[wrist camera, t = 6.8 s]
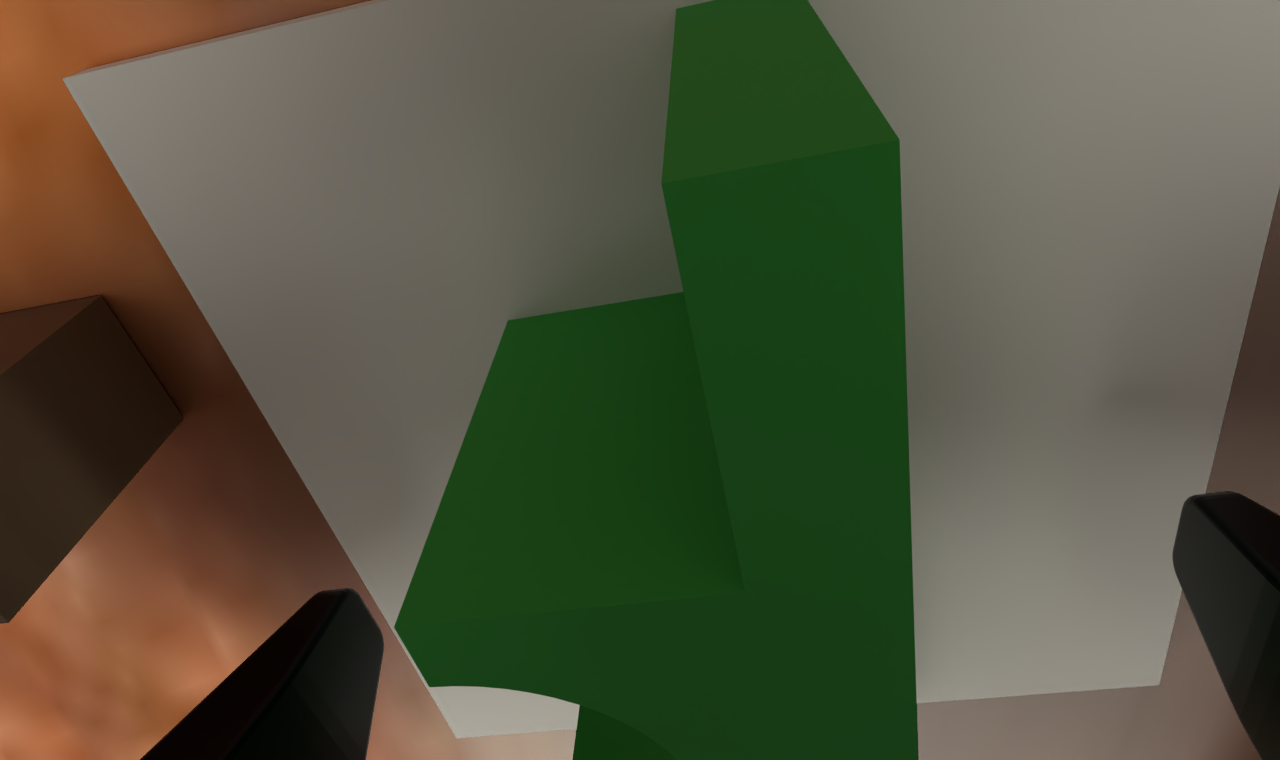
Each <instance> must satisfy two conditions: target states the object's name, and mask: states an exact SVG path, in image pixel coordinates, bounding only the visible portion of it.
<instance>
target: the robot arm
mask: <svg viewBox="0 0 1280 760" xmlns="http://www.w3.org/2000/svg"><path fill="white" fill-rule="evenodd" d="M1172 560H1173V566H1174V570H1175V573H1176V576H1177V579H1178V581H1179V583H1180V586H1181V588H1182V590H1183V592H1184V595H1185V597H1186V599H1187V602H1188V604H1189V606H1190V609H1191V611H1192V613H1193V615H1194V618H1195V620H1196V622H1197V625H1198V627H1199V629H1200V632H1201V634H1202V636H1203V638H1204V641H1205V643H1206V645H1207V648H1208V650H1209V652H1210V655H1211V657H1212V659H1213V662H1214V664H1215V666H1216V668H1217V671H1218V673H1219V675H1220V678H1221V680H1222V682H1223V685H1224V687H1225V689H1226V691H1227V694H1228V696H1229V698H1230V700H1231V702H1232V704H1233V707H1234V709H1235V711H1236V713H1237V715H1238V717H1239V719H1240V721H1241V723H1242V725H1243V727H1244V729H1245V730H1246V732H1247V734H1248V736H1249V738H1250V740H1251V742H1252V743H1253V745H1254V747H1255V749H1256V750H1257V752H1258V754H1259V756H1260V757H1261V759H1262V760H1280V515H1278V514H1276V513H1274V512H1272V511H1271V510H1269V509H1267V508H1265V507H1263V506H1262V505H1260V504H1258V503H1256V502H1254V501H1253V500H1251V499H1249V498H1247V497H1245V496H1243V495H1241V494H1239V493H1236V492H1230V491H1226V492H1216V493H1207V494H1198V495H1193V496H1190V497H1188V498H1187V499H1186V501H1185V502H1184V504H1183V507H1182V511H1181V515H1180V520H1179V524H1178V528H1177V533H1176V537H1175V542H1174V546H1173V552H1172ZM383 650H384V642H383V636H382V633H381V630H380V628H379V626H378V625H377V623H376V621H375V620H374V618H373V617H372V615H371V613H370V612H369V610H368V608H367V607H366V605H365V603H364V602H363V600H362V598H361V597H360V595H359V594H358V593H357V592H356V591H354V590H353V589H350V588H344V589H335V590H326V591H321V592H319V593H317V594H315V595H314V596H313V597H312V598H311V599H310V600H308V601H307V602H306V603H305V604H304V605H303V606H302V607H301V608H300V609H299V610H298V611H297V612H296V613H295V614H294V615H293V616H292V617H290V618H289V619H288V620H287V621H286V622H285V623H284V624H283V625H282V626H281V627H280V628H279V629H278V630H277V631H276V632H275V633H274V634H272V635H271V636H270V637H269V638H268V639H267V640H266V641H265V642H264V643H263V644H262V645H261V646H260V647H259V648H258V649H257V650H256V651H254V652H253V653H252V654H251V655H250V656H249V657H248V658H247V659H246V660H245V661H244V662H243V663H242V664H241V665H240V666H239V667H238V668H236V669H235V670H234V671H233V672H232V673H231V674H230V675H229V676H228V677H227V678H226V679H225V680H224V681H223V682H222V683H221V684H219V685H218V686H217V687H216V688H215V689H214V690H213V691H212V692H211V693H210V694H209V695H208V696H207V697H206V698H205V699H204V700H203V701H201V702H200V703H199V704H198V705H197V706H196V707H195V708H194V709H193V710H192V711H191V712H190V713H189V714H188V715H187V716H186V717H185V718H183V719H182V720H181V721H180V722H179V723H178V724H177V725H176V726H175V727H174V728H173V729H172V730H171V731H170V732H169V733H168V734H167V735H165V736H164V737H163V738H162V739H161V740H160V741H159V742H158V743H157V744H156V745H155V746H154V747H153V748H152V749H151V750H150V751H149V752H147V753H146V754H145V755H144V756H143V757H142V758H141V759H140V760H366V755H367V749H368V743H369V737H370V731H371V725H372V718H373V712H374V706H375V700H376V694H377V688H378V682H379V676H380V670H381V664H382V658H383Z"/></svg>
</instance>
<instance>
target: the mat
mask: <svg viewBox="0 0 1280 760" xmlns="http://www.w3.org/2000/svg"><path fill="white" fill-rule="evenodd" d="M709 1H713V0H371V1H367V2H362V3H358V4H354V5H350V6H346V7H342V8H337V9H333V10H329V11H325V12H321V13H317V14H313V15H308V16H304V17H300V18H296V19H292V20H288V21H284V22H279V23H275V24H271V25H267V26H263V27H259V28H255V29H250V30H246V31H242V32H238V33H234V34H230V35H226V36H221V37H217V38H213V39H209V40H205V41H201V42H196V43H192V44H188V45H184V46H180V47H176V48H172V49H167V50H163V51H159V52H155V53H151V54H147V55H143V56H138V57H134V58H130V59H126V60H122V61H118V62H114V63H109V64H105V65H101V66H97V67H93V68H89V69H85V70H83V71H80V72H78V73H75V74H73V75H70V76H68V77H65V78H63V79H62V80H63V81H64V83H65V85H66V86H67V88H68V90H69V91H70V93H71V95H72V96H73V98H74V100H75V101H76V103H77V105H78V107H79V108H80V110H81V112H82V113H83V115H84V117H85V118H86V120H87V122H88V123H89V125H90V127H91V128H92V130H93V132H94V133H95V135H96V137H97V138H98V140H99V142H100V143H101V145H102V147H103V148H104V150H105V152H106V153H107V155H108V157H109V158H110V160H111V162H112V163H113V165H114V167H115V168H116V170H117V172H118V173H119V175H120V177H121V178H122V180H123V182H124V183H125V185H126V187H127V188H128V190H129V192H130V193H131V195H132V197H133V198H134V200H135V202H136V203H137V205H138V207H139V208H140V210H141V212H142V213H143V215H144V217H145V218H146V220H147V222H148V223H149V225H150V227H151V228H152V230H153V232H154V233H155V235H156V237H157V238H158V240H159V242H160V243H161V245H162V247H163V248H164V250H165V252H166V253H167V255H168V257H169V258H170V260H171V262H172V264H173V265H174V267H175V269H176V270H177V272H178V274H179V275H180V277H181V279H182V280H183V282H184V284H185V285H186V287H187V289H188V290H189V292H190V294H191V295H192V297H193V299H194V300H195V302H196V304H197V305H198V307H199V309H200V310H201V312H202V314H203V315H204V317H205V319H206V320H207V322H208V324H209V325H210V327H211V329H212V330H213V332H214V334H215V335H216V337H217V339H218V340H219V342H220V344H221V345H222V347H223V349H224V350H225V352H226V354H227V355H228V357H229V359H230V360H231V362H232V364H233V365H234V367H235V369H236V370H237V372H238V374H239V375H240V377H241V379H242V380H243V382H244V384H245V385H246V387H247V389H248V390H249V392H250V394H251V395H252V397H253V399H254V400H255V402H256V404H257V405H258V407H259V409H260V410H261V412H262V414H263V415H264V417H265V419H266V421H267V422H268V424H269V426H270V427H271V429H272V431H273V432H274V434H275V436H276V437H277V439H278V441H279V442H280V444H281V446H282V447H283V449H284V451H285V452H286V454H287V456H288V457H289V459H290V461H291V462H292V464H293V466H294V467H295V469H296V471H297V472H298V474H299V476H300V477H301V479H302V481H303V482H304V484H305V486H306V487H307V489H308V491H309V492H310V494H311V496H312V497H313V499H314V501H315V502H316V504H317V506H318V507H319V509H320V511H321V512H322V514H323V516H324V517H325V519H326V521H327V522H328V524H329V526H330V527H331V529H332V531H333V532H334V534H335V536H336V537H337V539H338V541H339V542H340V544H341V546H342V547H343V549H344V551H345V552H346V554H347V556H348V557H349V559H350V561H351V562H352V564H353V566H354V567H355V569H356V571H357V572H358V574H359V576H360V578H361V579H362V581H363V583H364V584H365V586H366V588H367V589H368V591H369V593H370V594H371V596H372V598H373V599H374V601H375V603H376V604H377V606H378V608H379V609H380V611H381V613H382V614H383V616H384V618H385V619H386V621H387V623H388V624H389V626H390V628H391V629H392V631H393V633H394V634H395V636H396V638H397V639H398V641H399V643H400V644H401V646H402V648H403V649H404V651H405V653H406V654H407V656H408V658H409V659H410V661H411V663H412V664H413V666H414V668H415V669H416V671H417V673H418V674H419V676H420V678H421V679H422V681H423V683H424V684H425V686H426V688H427V689H428V691H429V693H430V694H431V696H432V698H433V699H434V701H435V703H436V704H437V706H438V708H439V709H440V711H441V713H442V714H443V716H444V718H445V719H446V721H447V723H448V724H449V726H450V728H451V730H452V731H453V733H454V735H455V736H456V738H467V737H481V736H494V735H507V734H520V733H534V732H547V731H560V730H573V729H577V722H578V715H579V707H580V705H578V704H574V703H571V702H567V701H564V700H560V699H557V698H553V697H548V696H543V695H539V694H534V693H529V692H522V691H516V690H509V689H501V688H489V687H470V686H448V687H429V686H428V684H427V682H426V681H425V679H424V677H423V676H422V674H421V672H420V671H419V669H418V667H417V666H416V664H415V662H414V660H413V659H412V657H411V655H410V654H409V652H408V650H407V649H406V647H405V645H404V644H403V642H402V640H401V638H400V637H399V635H398V633H397V632H396V630H395V628H394V626H395V623H396V620H397V618H398V615H399V612H400V610H401V607H402V604H403V601H404V599H405V596H406V593H407V591H408V588H409V585H410V583H411V580H412V577H413V575H414V572H415V569H416V566H417V564H418V561H419V558H420V556H421V553H422V550H423V548H424V545H425V542H426V540H427V537H428V534H429V531H430V529H431V526H432V523H433V521H434V518H435V515H436V513H437V510H438V507H439V505H440V502H441V499H442V496H443V494H444V491H445V488H446V486H447V483H448V480H449V478H450V475H451V472H452V469H453V467H454V464H455V461H456V459H457V456H458V453H459V451H460V448H461V445H462V443H463V440H464V437H465V434H466V432H467V429H468V426H469V424H470V421H471V418H472V416H473V413H474V410H475V408H476V405H477V402H478V399H479V397H480V394H481V391H482V389H483V386H484V383H485V381H486V378H487V375H488V373H489V370H490V367H491V364H492V362H493V359H494V356H495V354H496V351H497V348H498V346H499V343H500V340H501V338H502V335H503V332H504V329H505V327H506V324H507V321H508V320H513V319H519V318H525V317H531V316H538V315H544V314H550V313H556V312H562V311H568V310H575V309H581V308H587V307H593V306H599V305H606V304H612V303H618V302H624V301H630V300H636V299H643V298H649V297H655V296H661V295H667V294H673V293H680V292H683V287H682V282H681V277H680V272H679V268H678V263H677V258H676V253H675V248H674V243H673V238H672V233H671V228H670V224H669V219H668V214H667V209H666V204H665V199H664V194H663V189H662V185H661V181H662V170H663V158H664V146H665V135H666V123H667V111H668V99H669V88H670V76H671V64H672V52H673V41H674V29H675V17H676V9H677V8H682V7H686V6H691V5H695V4H700V3H704V2H709ZM808 1H809V3H810V5H811V6H812V8H813V9H814V11H815V12H816V14H817V15H818V17H819V18H820V20H821V21H822V23H823V24H824V26H825V27H826V29H827V30H828V32H829V33H830V35H831V36H832V38H833V39H834V41H835V42H836V44H837V45H838V47H839V49H840V50H841V52H842V53H843V55H844V56H845V58H846V59H847V61H848V62H849V64H850V65H851V67H852V68H853V70H854V71H855V73H856V74H857V76H858V77H859V79H860V80H861V82H862V83H863V85H864V86H865V88H866V89H867V91H868V92H869V94H870V96H871V97H872V99H873V100H874V102H875V103H876V105H877V106H878V108H879V109H880V111H881V112H882V114H883V115H884V117H885V118H886V120H887V121H888V123H889V124H890V126H891V127H892V129H893V130H894V132H895V133H896V135H897V136H898V138H899V140H900V170H901V203H902V236H903V269H904V302H905V335H906V368H907V401H908V434H909V467H910V500H911V533H912V566H913V599H914V632H915V665H916V698H917V703H930V702H943V701H956V700H969V699H982V698H996V697H1009V696H1022V695H1035V694H1048V693H1062V692H1075V691H1088V690H1101V689H1114V688H1128V687H1141V686H1154V685H1159V684H1160V679H1161V675H1162V671H1163V667H1164V663H1165V659H1166V655H1167V651H1168V646H1169V642H1170V638H1171V634H1172V630H1173V626H1174V622H1175V617H1176V613H1177V609H1178V605H1179V601H1180V597H1181V593H1182V588H1181V586H1180V583H1179V581H1178V579H1177V576H1176V573H1175V570H1174V566H1173V560H1172V552H1173V546H1174V542H1175V537H1176V533H1177V528H1178V524H1179V520H1180V515H1181V511H1182V507H1183V504H1184V502H1185V501H1186V499H1187V498H1188V497H1190V496H1193V495H1198V494H1205V493H1206V489H1207V485H1208V481H1209V477H1210V473H1211V469H1212V464H1213V460H1214V456H1215V452H1216V448H1217V444H1218V440H1219V436H1220V431H1221V427H1222V423H1223V419H1224V415H1225V411H1226V407H1227V402H1228V398H1229V394H1230V390H1231V386H1232V382H1233V378H1234V374H1235V369H1236V365H1237V361H1238V357H1239V353H1240V349H1241V345H1242V340H1243V336H1244V332H1245V328H1246V324H1247V320H1248V316H1249V311H1250V307H1251V303H1252V299H1253V295H1254V291H1255V287H1256V283H1257V278H1258V274H1259V270H1260V266H1261V262H1262V258H1263V254H1264V249H1265V245H1266V241H1267V237H1268V233H1269V229H1270V225H1271V221H1272V216H1273V212H1274V208H1275V204H1276V200H1277V196H1278V192H1279V187H1280V0H808Z"/></svg>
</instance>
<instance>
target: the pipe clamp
mask: <svg viewBox="0 0 1280 760" xmlns="http://www.w3.org/2000/svg"><path fill="white" fill-rule="evenodd" d="M661 185H662V189H663V194H664V199H665V204H666V209H667V214H668V219H669V224H670V228H671V233H672V238H673V243H674V248H675V253H676V258H677V263H678V268H679V272H680V277H681V282H682V287H683V292H680V293H673V294H667V295H661V296H655V297H649V298H643V299H636V300H630V301H624V302H618V303H612V304H606V305H599V306H593V307H587V308H581V309H575V310H568V311H562V312H556V313H550V314H544V315H538V316H531V317H525V318H519V319H513V320H508V321H507V324H506V327H505V329H504V332H503V335H502V338H501V340H500V343H499V346H498V348H497V351H496V354H495V356H494V359H493V362H492V364H491V367H490V370H489V373H488V375H487V378H486V381H485V383H484V386H483V389H482V391H481V394H480V397H479V399H478V402H477V405H476V408H475V410H474V413H473V416H472V418H471V421H470V424H469V426H468V429H467V432H466V434H465V437H464V440H463V443H462V445H461V448H460V451H459V453H458V456H457V459H456V461H455V464H454V467H453V469H452V472H451V475H450V478H449V480H448V483H447V486H446V488H445V491H444V494H443V496H442V499H441V502H440V505H439V507H438V510H437V513H436V515H435V518H434V521H433V523H432V526H431V529H430V531H429V534H428V537H427V540H426V542H425V545H424V548H423V550H422V553H421V556H420V558H419V561H418V564H417V566H416V569H415V572H414V575H413V577H412V580H411V583H410V585H409V588H408V591H407V593H406V596H405V599H404V601H403V604H402V607H401V610H400V612H399V615H398V618H397V620H396V623H395V626H394V628H395V630H396V632H397V633H398V635H399V637H400V638H401V640H402V642H403V644H404V645H405V647H406V649H407V650H408V652H409V654H410V655H411V657H412V659H413V660H414V662H415V664H416V666H417V667H418V669H419V671H420V672H421V674H422V676H423V677H424V679H425V681H426V682H427V684H428V686H429V687H448V686H470V687H489V688H501V689H509V690H516V691H522V692H529V693H534V694H539V695H543V696H548V697H553V698H557V699H560V700H564V701H567V702H571V703H574V704H578V705H580V707H579V715H578V722H577V730H576V738H575V746H574V754H573V760H918V731H917V698H916V665H915V632H914V599H913V566H912V533H911V500H910V467H909V434H908V401H907V368H906V335H905V302H904V269H903V236H902V203H901V170H900V140H899V138H898V136H897V135H896V133H895V132H894V130H893V129H892V127H891V126H890V124H889V123H888V121H887V120H886V118H885V117H884V115H883V114H882V112H881V111H880V109H879V108H878V106H877V105H876V103H875V102H874V100H873V99H872V97H871V96H870V94H869V92H868V91H867V89H866V88H865V86H864V85H863V83H862V82H861V80H860V79H859V77H858V76H857V74H856V73H855V71H854V70H853V68H852V67H851V65H850V64H849V62H848V61H847V59H846V58H845V56H844V55H843V53H842V52H841V50H840V49H839V47H838V45H837V44H836V42H835V41H834V39H833V38H832V36H831V35H830V33H829V32H828V30H827V29H826V27H825V26H824V24H823V23H822V21H821V20H820V18H819V17H818V15H817V14H816V12H815V11H814V9H813V8H812V6H811V5H810V3H809V1H808V0H713V1H709V2H704V3H700V4H695V5H691V6H686V7H682V8H677V9H676V17H675V29H674V41H673V52H672V64H671V76H670V88H669V99H668V111H667V123H666V135H665V146H664V158H663V170H662V181H661Z"/></svg>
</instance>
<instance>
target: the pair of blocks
mask: <svg viewBox="0 0 1280 760" xmlns="http://www.w3.org/2000/svg"><path fill="white" fill-rule="evenodd" d="M182 420H183V417H182V416H181V414H180V413H179V411H178V410H177V408H176V407H175V405H174V404H173V402H172V401H171V399H170V398H169V396H168V395H167V393H166V392H165V390H164V389H163V387H162V386H161V384H160V383H159V381H158V380H157V378H156V377H155V375H154V374H153V372H152V371H151V369H150V368H149V366H148V365H147V363H146V362H145V360H144V359H143V357H142V356H141V354H140V353H139V351H138V350H137V348H136V347H135V346H134V344H133V343H132V341H131V340H130V338H129V337H128V335H127V334H126V332H125V331H124V329H123V328H122V326H121V325H120V323H119V322H118V320H117V319H116V317H115V316H114V314H113V313H112V311H111V310H110V308H109V307H108V305H107V304H106V302H105V301H104V299H103V298H102V296H101V295H100V296H94V297H89V298H84V299H78V300H73V301H67V302H62V303H57V304H51V305H46V306H41V307H35V308H30V309H25V310H19V311H14V312H9V313H3V314H0V623H9V622H10V621H11V619H12V618H13V617H14V616H15V615H16V614H17V612H18V611H19V610H20V609H21V608H22V607H23V605H24V604H25V603H26V602H27V601H28V600H29V598H30V597H31V596H32V595H33V594H34V593H35V591H36V590H37V589H38V588H39V587H40V586H41V584H42V583H43V582H44V581H45V580H46V579H47V577H48V576H49V575H50V574H51V573H52V572H53V570H54V569H55V568H56V567H57V566H58V565H59V563H60V562H61V561H62V560H63V559H64V558H65V556H66V555H67V554H68V553H69V552H70V551H71V549H72V548H73V547H74V546H75V545H76V544H77V542H78V541H79V540H80V539H81V538H82V537H83V535H84V534H85V533H86V532H87V531H88V530H89V528H90V527H91V526H92V525H93V524H94V523H95V521H96V520H97V519H98V518H99V517H100V516H101V514H102V513H103V512H104V511H105V510H106V509H107V507H108V506H109V505H110V504H111V503H112V502H113V500H114V499H115V498H116V497H117V496H118V495H119V493H120V492H121V491H122V490H123V489H124V488H125V486H126V485H127V484H128V483H129V482H130V481H131V479H132V478H133V477H134V476H135V475H136V474H137V472H138V471H139V470H140V469H141V468H142V467H143V465H144V464H145V463H146V462H147V461H148V460H149V458H150V457H151V456H152V455H153V454H154V453H155V451H156V450H157V449H158V448H159V447H160V446H161V444H162V443H163V442H164V441H165V440H166V439H167V437H168V436H169V435H170V434H171V433H172V432H173V430H174V429H175V428H176V427H177V426H178V425H179V423H180V422H181V421H182Z"/></svg>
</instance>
